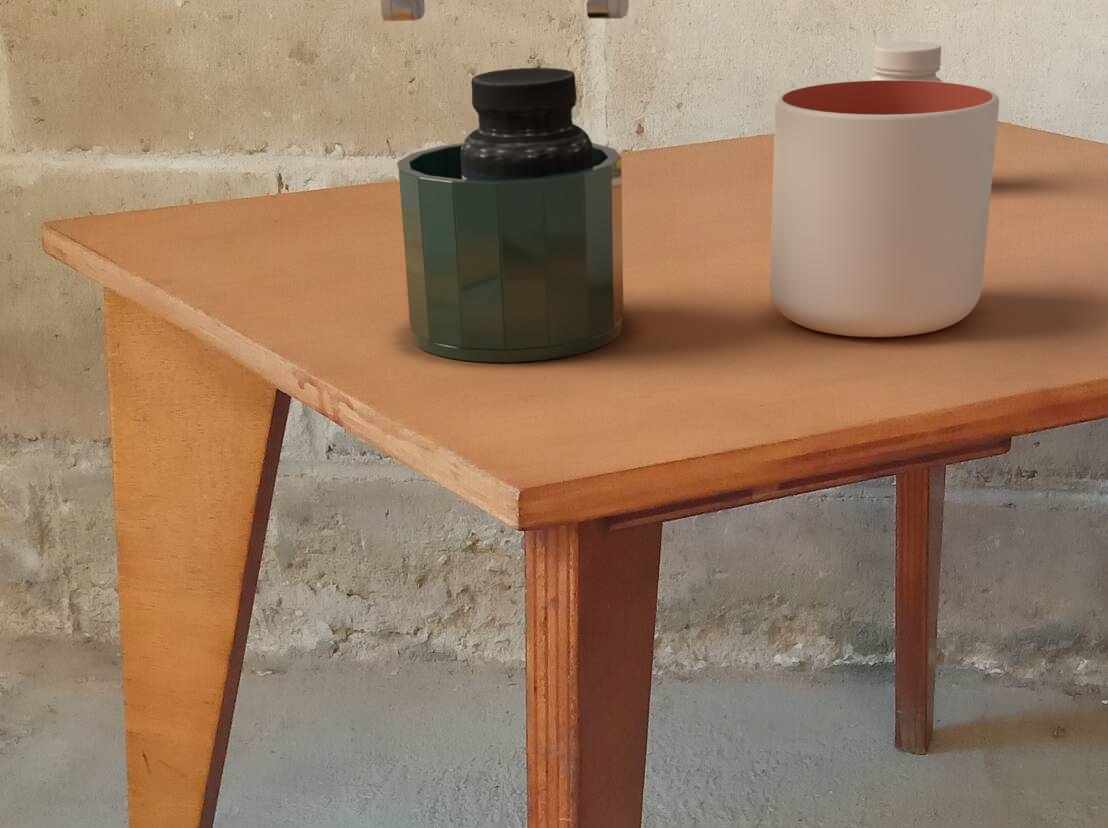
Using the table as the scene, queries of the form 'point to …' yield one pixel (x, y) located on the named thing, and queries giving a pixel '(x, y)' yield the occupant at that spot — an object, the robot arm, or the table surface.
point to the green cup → (511, 258)
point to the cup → (881, 204)
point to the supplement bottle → (907, 61)
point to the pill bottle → (524, 126)
